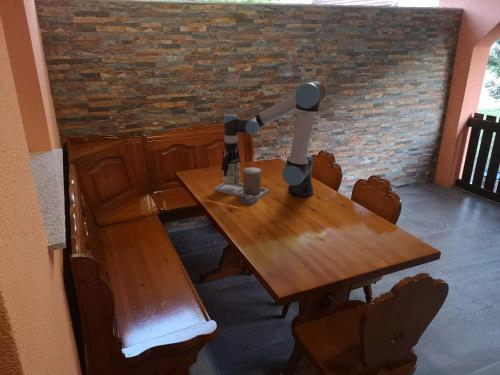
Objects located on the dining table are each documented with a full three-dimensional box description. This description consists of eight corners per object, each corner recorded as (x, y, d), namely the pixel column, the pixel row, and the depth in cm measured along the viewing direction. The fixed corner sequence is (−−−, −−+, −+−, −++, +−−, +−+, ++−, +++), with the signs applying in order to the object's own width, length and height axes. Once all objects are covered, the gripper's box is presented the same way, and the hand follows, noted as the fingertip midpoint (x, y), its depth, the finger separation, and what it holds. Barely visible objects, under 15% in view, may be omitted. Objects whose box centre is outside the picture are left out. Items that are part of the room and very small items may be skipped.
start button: (253, 200, 202) (253, 195, 201) (250, 202, 199) (250, 197, 198) (247, 199, 204) (247, 194, 203) (243, 201, 201) (243, 196, 200)
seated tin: (263, 192, 216) (264, 169, 211) (255, 197, 207) (255, 174, 202) (248, 188, 220) (248, 166, 215) (239, 194, 212) (239, 171, 207)
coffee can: (223, 179, 224) (223, 156, 219) (240, 179, 224) (240, 157, 219) (221, 185, 214) (221, 161, 209) (239, 185, 214) (239, 162, 209)
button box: (257, 202, 203) (257, 197, 202) (251, 207, 198) (251, 201, 197) (246, 200, 207) (246, 195, 206) (240, 204, 201) (240, 199, 200)
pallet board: (269, 193, 217) (269, 189, 216) (256, 201, 205) (256, 197, 204) (228, 184, 230) (227, 180, 229) (214, 191, 218) (214, 187, 217)
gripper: (235, 137, 221) (236, 172, 229) (214, 145, 203) (215, 183, 211) (246, 138, 218) (246, 174, 226) (225, 147, 199) (226, 185, 207)
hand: (231, 178), depth 218 cm, fingers closed on coffee can, 10 cm apart
